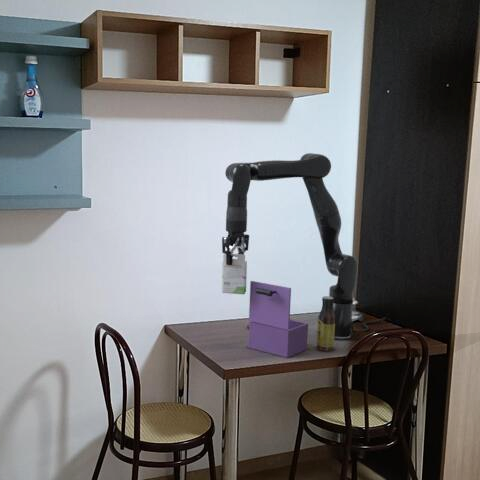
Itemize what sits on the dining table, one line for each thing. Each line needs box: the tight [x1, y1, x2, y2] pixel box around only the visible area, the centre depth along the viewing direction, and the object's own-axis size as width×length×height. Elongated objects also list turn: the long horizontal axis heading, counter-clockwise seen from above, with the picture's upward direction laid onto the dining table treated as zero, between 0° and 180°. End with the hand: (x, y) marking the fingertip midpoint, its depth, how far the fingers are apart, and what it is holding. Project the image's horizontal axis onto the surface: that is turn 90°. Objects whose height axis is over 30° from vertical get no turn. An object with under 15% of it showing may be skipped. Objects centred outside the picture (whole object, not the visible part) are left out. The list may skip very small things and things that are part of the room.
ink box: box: [221, 253, 248, 295], centre depth 236 cm, size 9×5×15 cm, turn 74°
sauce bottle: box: [316, 295, 335, 352], centre depth 238 cm, size 6×6×20 cm
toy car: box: [352, 297, 364, 322], centre depth 281 cm, size 18×10×12 cm
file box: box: [247, 319, 309, 358], centre depth 239 cm, size 14×17×10 cm
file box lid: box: [248, 280, 292, 330], centre depth 230 cm, size 15×17×5 cm
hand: (234, 263), depth 236 cm, fingers closed on ink box, 6 cm apart
